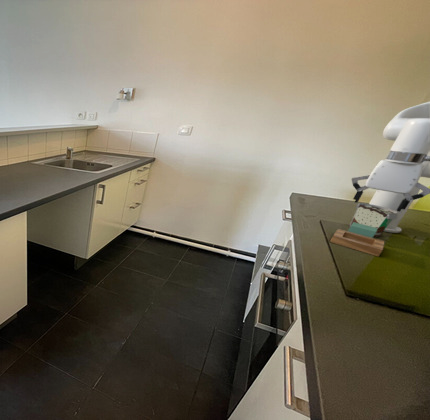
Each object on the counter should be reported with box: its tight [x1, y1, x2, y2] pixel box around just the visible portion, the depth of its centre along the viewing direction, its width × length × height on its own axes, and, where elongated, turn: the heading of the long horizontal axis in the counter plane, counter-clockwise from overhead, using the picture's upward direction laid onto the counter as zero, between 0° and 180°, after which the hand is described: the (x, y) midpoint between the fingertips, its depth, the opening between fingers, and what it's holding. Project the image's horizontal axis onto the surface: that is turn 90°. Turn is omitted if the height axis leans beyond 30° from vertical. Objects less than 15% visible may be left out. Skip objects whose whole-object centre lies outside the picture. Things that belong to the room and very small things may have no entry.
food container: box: [349, 202, 398, 238], centre depth 94 cm, size 12×6×10 cm, turn 168°
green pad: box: [348, 222, 377, 238], centre depth 91 cm, size 6×6×4 cm
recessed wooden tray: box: [329, 228, 385, 257], centre depth 85 cm, size 11×11×2 cm
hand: (376, 206), depth 87 cm, fingers open, 9 cm apart
